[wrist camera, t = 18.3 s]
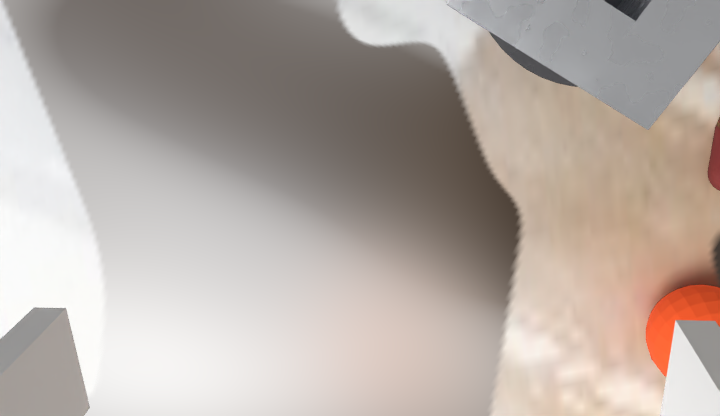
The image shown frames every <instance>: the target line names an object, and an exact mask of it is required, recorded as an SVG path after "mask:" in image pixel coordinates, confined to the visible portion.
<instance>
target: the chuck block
mask: <svg viewBox="0 0 720 416" xmlns="http://www.w3.org/2000/svg"><path fill="white" fill-rule="evenodd" d="M446 3H447V5H448V6H449V7H451V8H453V9H454V10H456V11H457V12H459V13H461V14H462V15H464V16H465V17H467V18H469V19H470V20H472V21H474V22H475V23H477V24H478V25H480V26H482V27H483V28H485V29H486V30H488V31H489V32H490V34H491V35H492V37H493V38H494V39H495V41H496V42H497V43H498V44H499V46H500V47H501V48H502V49H503V50H504V51H505V52H506V53H507V54H508V55H509V56H510V57H511V58H512V59H513V60H514V61H516V62H517V63H518V64H520V65H521V66H523V67H524V68H525V69H527V70H528V71H530V72H532V73H534V74H536V75H538V76H540V77H542V78H545V79H548V80H550V81H553V82H556V83H560V84H565V85H569V86H575V87H580V88H581V89H583V90H585V91H586V92H588V93H589V94H591V95H593V96H594V97H596V98H597V99H599V100H601V101H602V102H604V103H605V104H607V105H609V106H610V107H612V108H613V109H615V110H617V111H618V112H620V113H622V114H623V115H625V116H626V117H628V118H630V119H631V120H633V121H634V122H636V123H638V124H639V125H641V126H642V127H644V128H646V129H647V130H649V128H650V127H651V126H652V125H653V123H654V122H655V121H656V120H657V118H658V117H659V116H660V115H661V113H662V112H663V111H664V110H665V109H666V107H667V106H668V105H669V104H670V102H671V101H672V100H673V99H674V97H675V96H676V95H677V94H678V92H679V91H680V90H681V89H682V87H683V86H684V85H685V84H686V82H687V81H688V80H689V79H690V77H691V76H692V75H693V74H694V72H695V71H696V70H697V69H698V67H699V66H700V65H701V64H702V63H703V61H704V60H705V59H706V58H707V56H708V55H709V54H710V53H711V51H712V50H713V49H714V48H715V46H716V45H717V44H718V43H719V41H720V0H446Z"/></svg>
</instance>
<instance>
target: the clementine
mask: <svg viewBox="0 0 720 416" xmlns="http://www.w3.org/2000/svg"><path fill="white" fill-rule="evenodd" d="M675 320H696V321H716V323H717V324H718V326H719V327H720V288H719V287H715V286H709V285H690V286H686V287H683V288H679V289H677V290H675V291H673V292H671V293H669V294H667V295H666V296H665V297H664V298H662V299H661V300H660V301H659V302H658V303H657V304H656V306H655V307H654V309H653V310H652V311H651V314H650V317H649V320H648V323H647V327H646V342H647V346H648V349H649V352H650V355H651V359H652V360H653V361H654V363H655V364H656V365H657V367H658V368H659V369H660V371H661V372H662V373H663V374H664V376H666V377H667V370H668V364H669V358H670V352H671V345H672V339H673V333H674V327H675Z"/></svg>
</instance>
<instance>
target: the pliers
mask: <svg viewBox="0 0 720 416" xmlns="http://www.w3.org/2000/svg"><path fill="white" fill-rule="evenodd" d="M708 178H709V181H710V183H711V184H712V186H713V187H715V188H716V189H717V190H719V191H720V117H719V120H718V122H717V125H716V127H715V133H714V138H713V144H712V150H711V156H710V162H709V167H708Z"/></svg>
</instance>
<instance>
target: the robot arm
mask: <svg viewBox="0 0 720 416" xmlns="http://www.w3.org/2000/svg"><path fill="white" fill-rule="evenodd" d="M89 408H90V407H89V402H88V398H87V394H86V390H85V386H84V381H83V377H82V373H81V369H80V365H79V360H78V356H77V352H76V348H75V344H74V340H73V335H72V331H71V327H70V323H69V319H68V314H67V310H66V308H33V309H32V310H31V311H30V312H29V313H28V314H27V315H26V316H25V317H24V318H23V319H22V320H21V321H19V322H18V323H17V324H16V325H15V326H14V327H13V328H12V329H11V330H10V331H9V332H8V333H7V334H6V335H5V336H4V337H2V338H1V339H0V416H84V415H85V413H86V412H87V411H88V409H89ZM660 416H720V327H719V326H718V324H717V323H716V321H696V320H675V327H674V333H673V339H672V345H671V352H670V358H669V364H668V370H667V377H666V383H665V389H664V395H663V402H662V408H661V414H660Z"/></svg>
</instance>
